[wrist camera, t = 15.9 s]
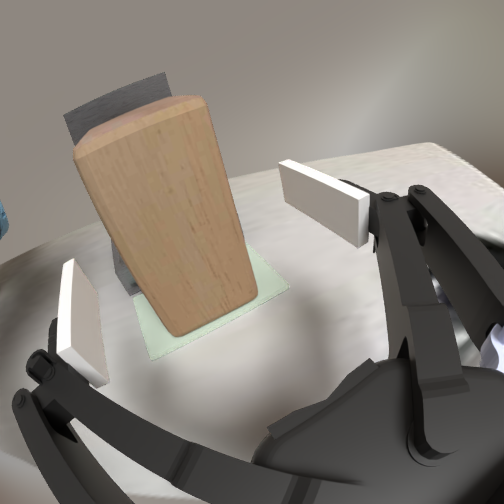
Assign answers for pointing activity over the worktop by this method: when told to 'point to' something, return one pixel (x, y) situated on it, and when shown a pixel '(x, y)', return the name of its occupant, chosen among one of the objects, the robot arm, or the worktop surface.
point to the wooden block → (170, 210)
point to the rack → (109, 109)
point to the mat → (165, 342)
